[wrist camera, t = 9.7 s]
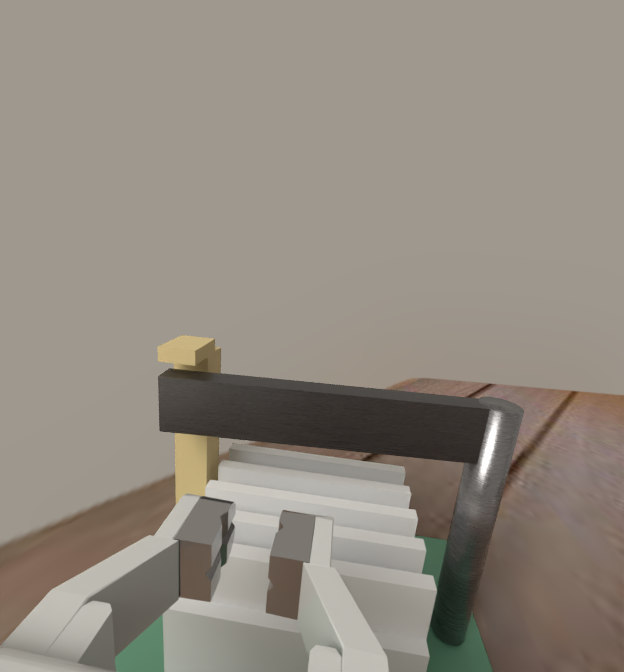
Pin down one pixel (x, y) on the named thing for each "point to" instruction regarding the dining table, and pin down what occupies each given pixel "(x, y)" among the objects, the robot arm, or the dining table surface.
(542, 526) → the dining table surface
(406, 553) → the board
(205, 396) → the retention bar
